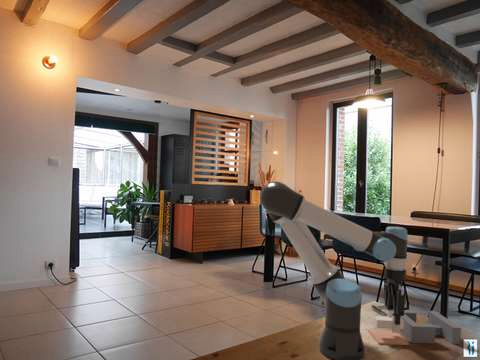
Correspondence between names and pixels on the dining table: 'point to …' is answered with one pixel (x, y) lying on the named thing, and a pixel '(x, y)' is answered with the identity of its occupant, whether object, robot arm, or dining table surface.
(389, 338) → the terracotta mat
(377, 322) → the cream bar
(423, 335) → the pocket plate
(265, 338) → the dining table surface
